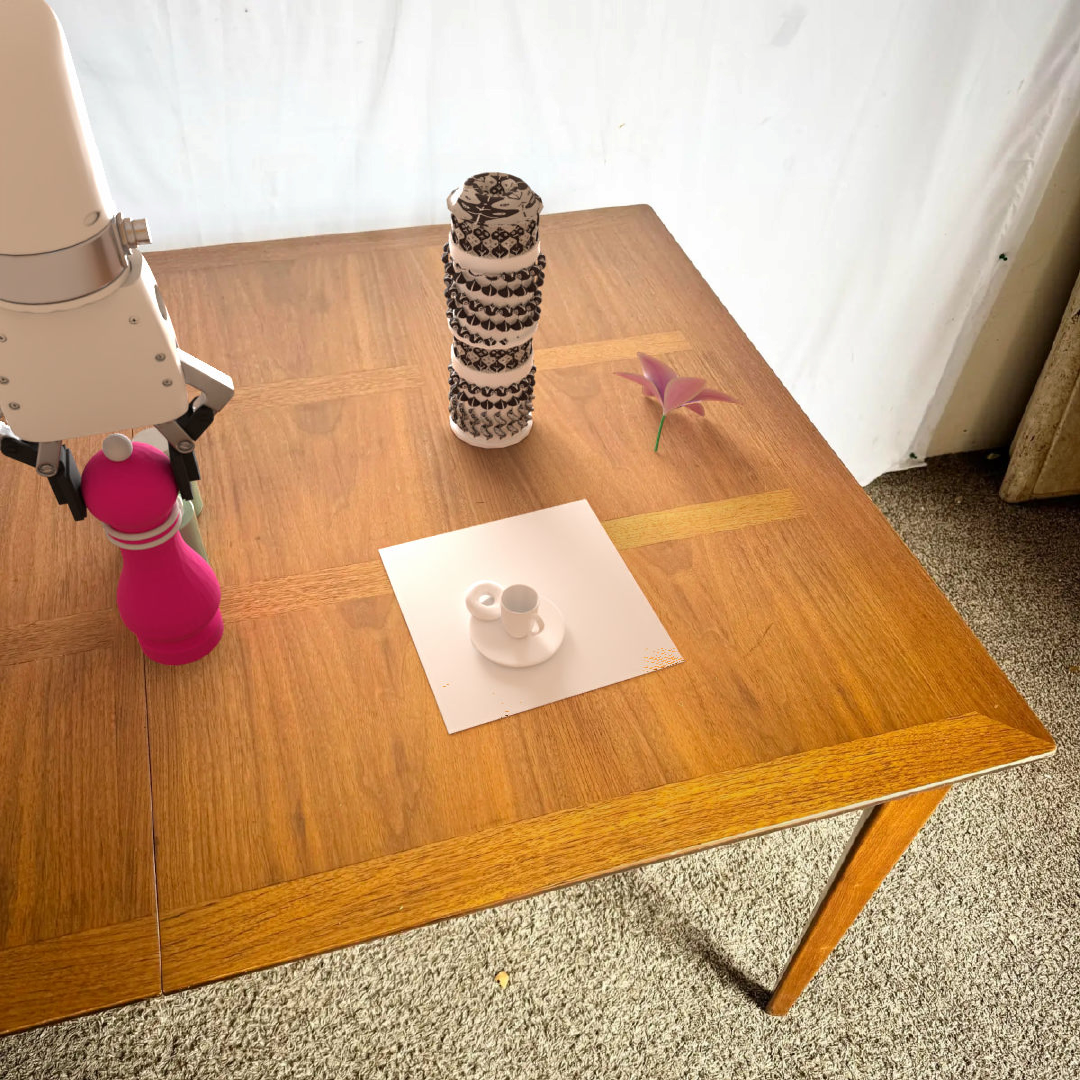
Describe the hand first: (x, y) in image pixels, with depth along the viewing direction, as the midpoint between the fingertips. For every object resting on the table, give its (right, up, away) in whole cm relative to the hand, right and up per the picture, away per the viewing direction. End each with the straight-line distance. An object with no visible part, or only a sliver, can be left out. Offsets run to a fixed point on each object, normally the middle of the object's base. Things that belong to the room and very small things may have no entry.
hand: (133, 494), depth 64 cm
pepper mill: (-1, -10, +11) cm, 15 cm away
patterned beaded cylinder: (+22, +9, +34) cm, 41 cm away
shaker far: (-6, 0, +23) cm, 24 cm away
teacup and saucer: (+26, -9, +17) cm, 32 cm away
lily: (+40, +8, +35) cm, 54 cm away
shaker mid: (-3, -6, +18) cm, 19 cm away
